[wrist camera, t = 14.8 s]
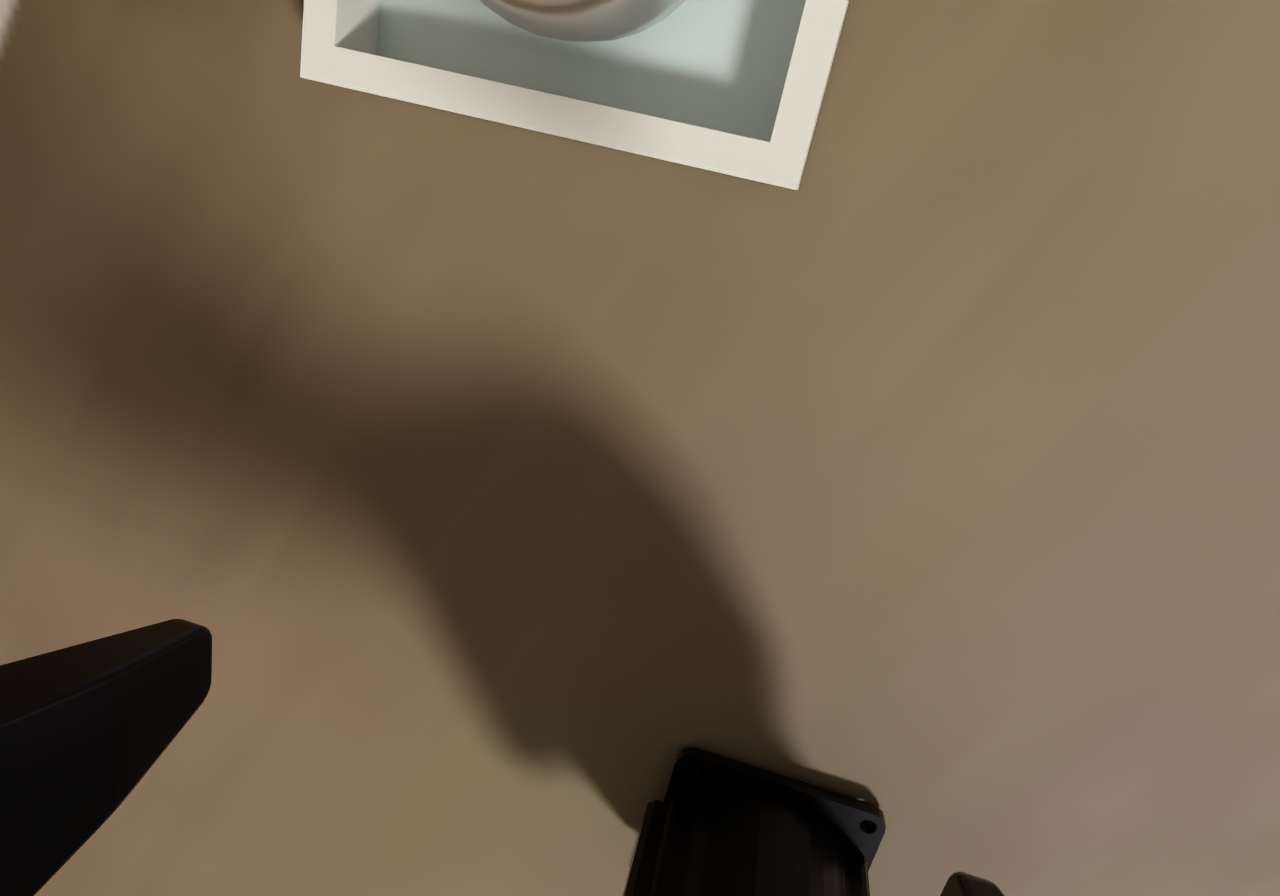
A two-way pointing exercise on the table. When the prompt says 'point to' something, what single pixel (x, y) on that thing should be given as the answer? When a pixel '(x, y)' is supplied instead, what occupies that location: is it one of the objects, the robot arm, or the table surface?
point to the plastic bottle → (583, 17)
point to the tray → (602, 75)
